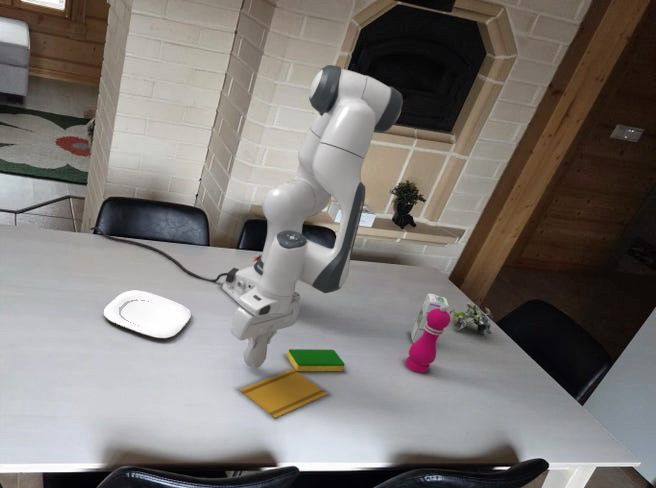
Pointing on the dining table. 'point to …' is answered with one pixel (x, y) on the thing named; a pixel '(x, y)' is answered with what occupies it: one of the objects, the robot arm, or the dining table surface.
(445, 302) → the syrup box
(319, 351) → the dish sponge
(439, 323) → the pepper mill
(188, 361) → the dining table surface
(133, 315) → the plate
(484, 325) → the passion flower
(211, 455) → the dining table surface
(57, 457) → the dining table surface
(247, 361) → the salt shaker
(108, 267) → the dining table surface
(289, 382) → the cloth
